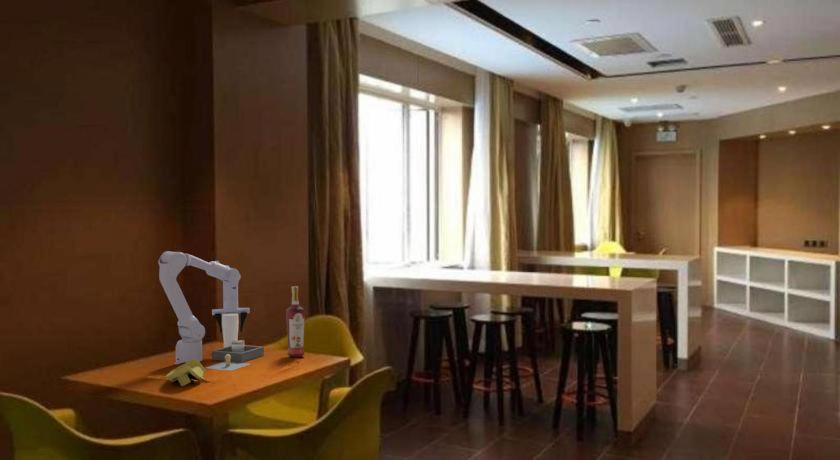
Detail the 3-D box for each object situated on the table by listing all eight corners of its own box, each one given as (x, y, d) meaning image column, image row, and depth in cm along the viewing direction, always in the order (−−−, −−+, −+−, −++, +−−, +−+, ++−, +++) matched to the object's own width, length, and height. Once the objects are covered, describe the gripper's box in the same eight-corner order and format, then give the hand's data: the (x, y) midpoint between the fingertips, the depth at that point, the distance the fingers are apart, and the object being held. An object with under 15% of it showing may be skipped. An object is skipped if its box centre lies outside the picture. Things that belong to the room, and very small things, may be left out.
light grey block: (231, 360, 275) (231, 342, 274) (232, 358, 279) (232, 340, 279) (244, 360, 276) (243, 342, 275) (244, 357, 280) (244, 340, 280)
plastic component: (173, 369, 253) (199, 356, 254) (182, 388, 253) (208, 374, 254) (162, 378, 233) (191, 363, 235) (173, 398, 233) (201, 383, 235)
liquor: (290, 359, 278) (289, 288, 277) (284, 356, 284) (282, 286, 283) (308, 357, 281) (307, 287, 280) (301, 354, 288) (300, 285, 287)
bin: (212, 362, 274) (211, 351, 274) (234, 355, 287) (234, 344, 287) (242, 365, 268) (241, 353, 268) (263, 358, 281) (263, 346, 281)
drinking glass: (242, 349, 300) (241, 313, 300) (231, 352, 294) (231, 315, 294) (229, 347, 303) (228, 312, 303) (218, 350, 297) (218, 315, 296)
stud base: (204, 371, 259) (203, 356, 259) (225, 364, 270) (224, 350, 270) (231, 374, 254) (230, 358, 254) (251, 367, 266) (251, 352, 265)
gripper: (211, 300, 278) (212, 334, 279) (249, 298, 282) (250, 332, 283) (211, 297, 285) (212, 331, 285) (248, 296, 289) (249, 329, 290)
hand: (231, 331), depth 285 cm, fingers open, 7 cm apart
